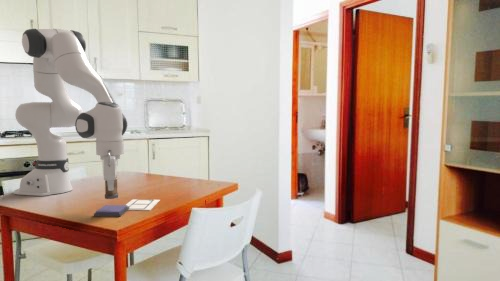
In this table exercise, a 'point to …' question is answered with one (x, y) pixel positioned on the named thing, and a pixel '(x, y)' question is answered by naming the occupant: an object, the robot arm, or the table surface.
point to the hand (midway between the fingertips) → (111, 188)
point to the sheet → (141, 204)
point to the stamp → (113, 193)
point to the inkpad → (111, 211)
